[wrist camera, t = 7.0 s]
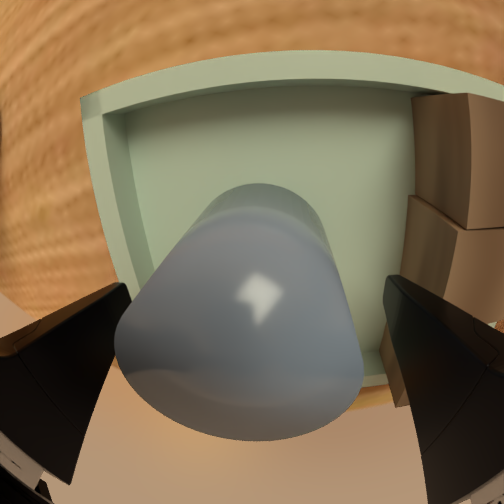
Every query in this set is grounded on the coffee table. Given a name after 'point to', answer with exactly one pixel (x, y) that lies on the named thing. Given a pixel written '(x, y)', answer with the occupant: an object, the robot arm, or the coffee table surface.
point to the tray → (269, 157)
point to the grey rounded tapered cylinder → (245, 323)
